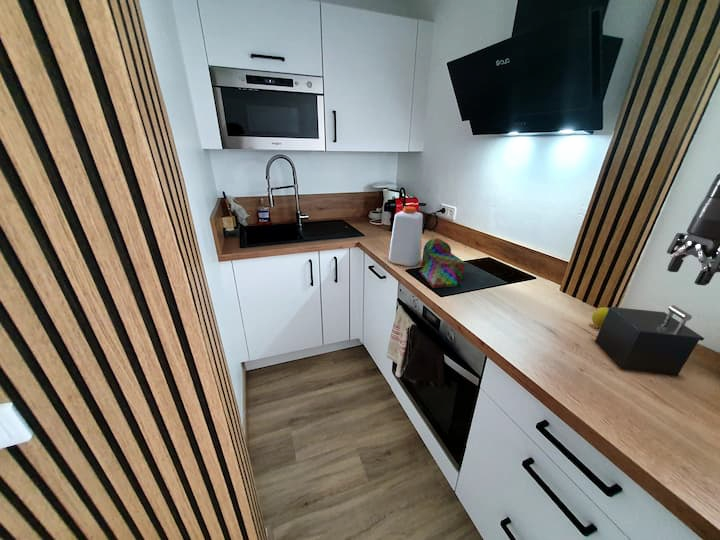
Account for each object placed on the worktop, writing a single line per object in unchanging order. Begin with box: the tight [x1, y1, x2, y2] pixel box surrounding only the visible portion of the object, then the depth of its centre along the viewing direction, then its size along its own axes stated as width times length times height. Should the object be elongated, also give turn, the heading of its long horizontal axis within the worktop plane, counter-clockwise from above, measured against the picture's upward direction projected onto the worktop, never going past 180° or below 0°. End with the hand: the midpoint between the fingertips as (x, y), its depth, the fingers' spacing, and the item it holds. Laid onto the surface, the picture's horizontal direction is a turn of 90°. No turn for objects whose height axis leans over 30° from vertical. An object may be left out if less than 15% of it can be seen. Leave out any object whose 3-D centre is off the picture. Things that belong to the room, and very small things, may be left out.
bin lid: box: [608, 305, 705, 341], centre depth 78 cm, size 14×13×5 cm
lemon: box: [591, 306, 610, 329], centre depth 96 cm, size 6×6×8 cm
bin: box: [594, 309, 700, 377], centre depth 81 cm, size 14×13×12 cm
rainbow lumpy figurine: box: [418, 237, 466, 289], centre depth 132 cm, size 25×17×14 cm
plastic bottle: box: [388, 206, 424, 267], centre depth 144 cm, size 15×15×28 cm
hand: (685, 277), depth 75 cm, fingers open, 8 cm apart
